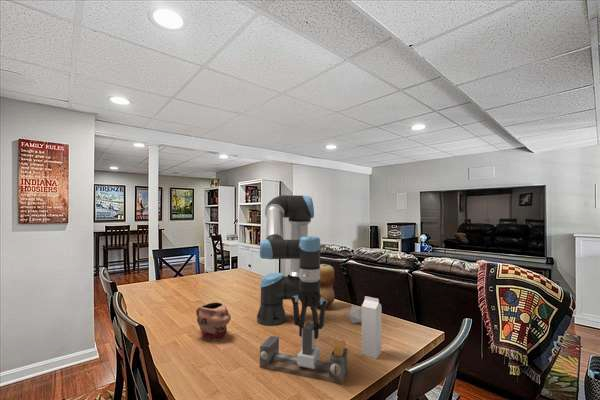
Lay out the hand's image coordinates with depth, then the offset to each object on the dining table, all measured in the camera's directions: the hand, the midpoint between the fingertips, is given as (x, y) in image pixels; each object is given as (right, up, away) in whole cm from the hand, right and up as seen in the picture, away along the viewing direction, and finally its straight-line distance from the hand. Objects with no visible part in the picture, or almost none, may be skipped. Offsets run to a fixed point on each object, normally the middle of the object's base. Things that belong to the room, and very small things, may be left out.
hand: (308, 346), depth 101 cm
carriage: (0, -6, 0) cm, 6 cm away
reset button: (+10, -1, -4) cm, 11 cm away
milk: (+25, -9, +12) cm, 29 cm away
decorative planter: (-43, -9, +26) cm, 51 cm away
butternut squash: (+10, -12, +67) cm, 69 cm away
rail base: (-2, -8, 0) cm, 8 cm away
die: (+26, -11, +44) cm, 53 cm away
